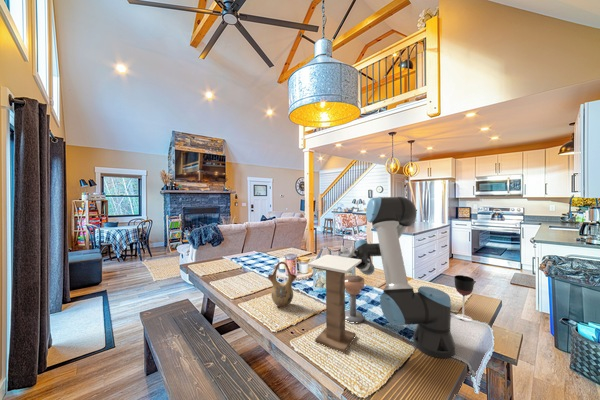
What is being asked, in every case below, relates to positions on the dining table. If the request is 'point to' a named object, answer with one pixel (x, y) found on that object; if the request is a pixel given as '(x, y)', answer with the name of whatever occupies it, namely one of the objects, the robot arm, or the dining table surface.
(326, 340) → the stand
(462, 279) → the wineglass
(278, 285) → the ceramic vessel
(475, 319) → the dining table surface
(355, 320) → the brown goblet
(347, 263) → the lid
